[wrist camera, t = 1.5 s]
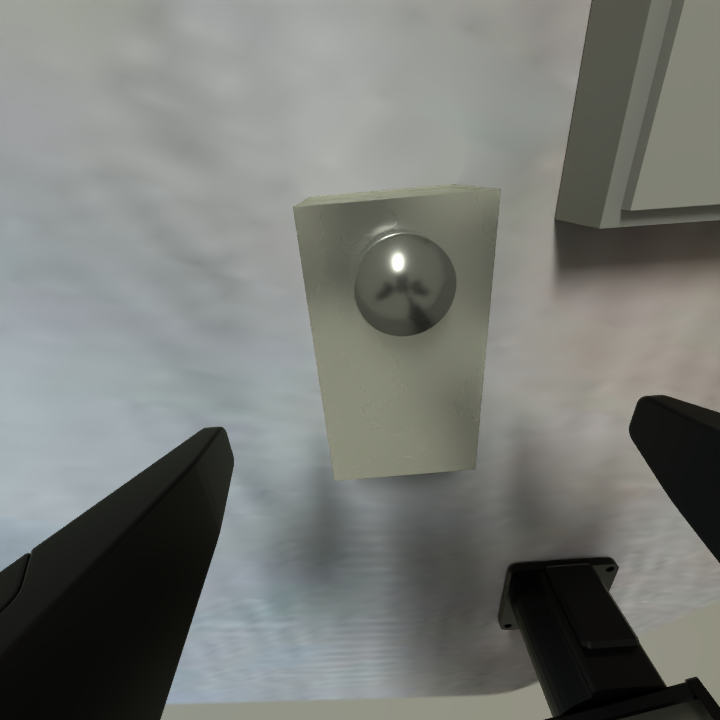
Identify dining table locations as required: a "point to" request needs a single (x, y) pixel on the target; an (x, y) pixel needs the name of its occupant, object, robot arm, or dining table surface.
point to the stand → (645, 117)
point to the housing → (400, 323)
